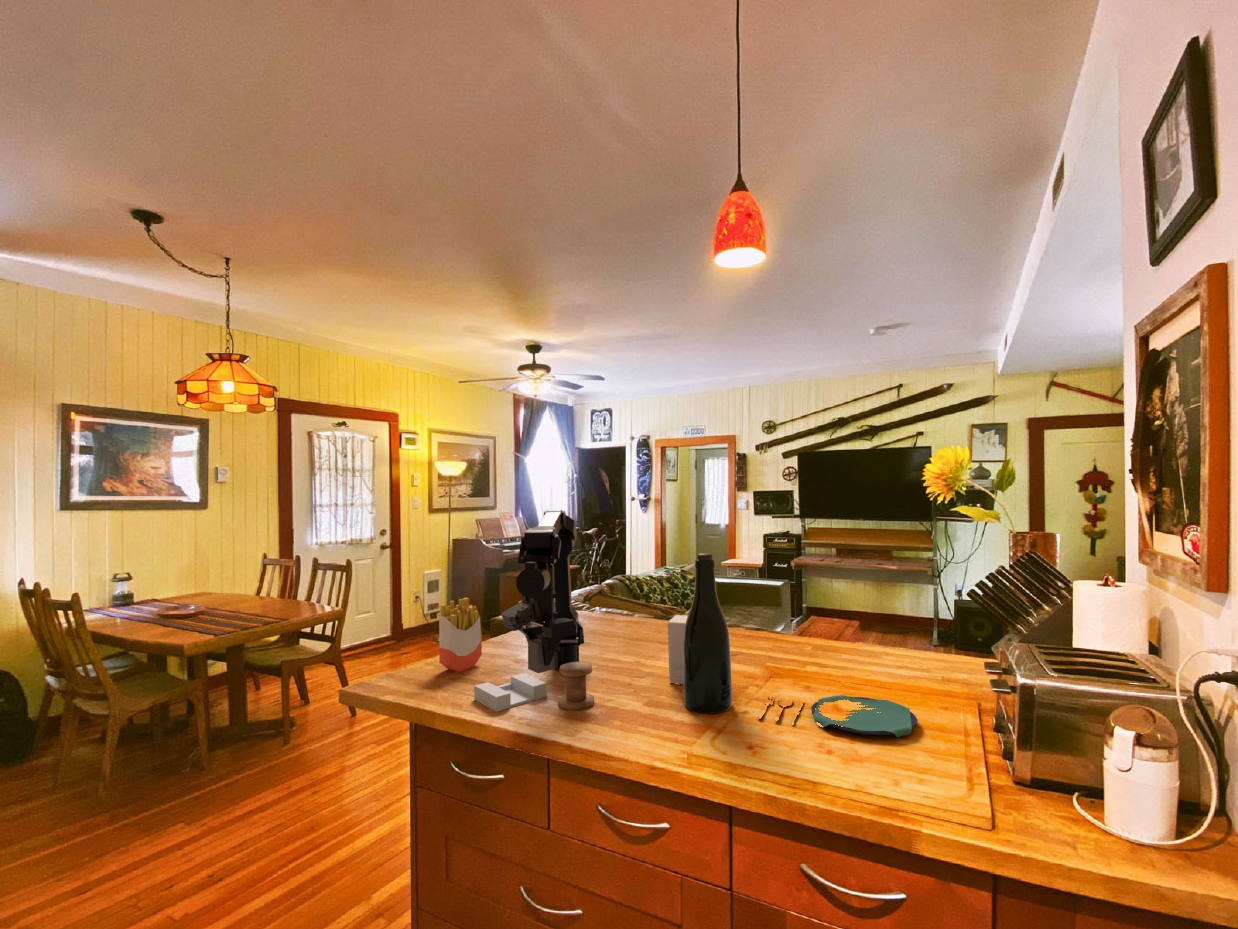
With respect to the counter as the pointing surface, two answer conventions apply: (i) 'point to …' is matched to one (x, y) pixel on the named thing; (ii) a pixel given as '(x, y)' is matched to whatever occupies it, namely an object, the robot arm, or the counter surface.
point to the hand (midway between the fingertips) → (541, 663)
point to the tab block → (537, 657)
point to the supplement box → (676, 648)
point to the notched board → (510, 692)
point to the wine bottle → (706, 646)
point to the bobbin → (576, 686)
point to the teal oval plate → (870, 717)
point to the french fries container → (459, 636)
